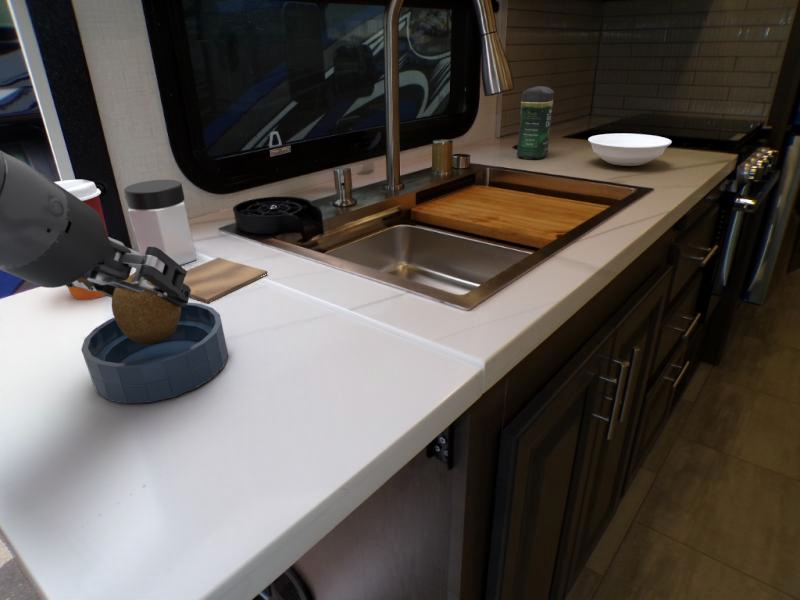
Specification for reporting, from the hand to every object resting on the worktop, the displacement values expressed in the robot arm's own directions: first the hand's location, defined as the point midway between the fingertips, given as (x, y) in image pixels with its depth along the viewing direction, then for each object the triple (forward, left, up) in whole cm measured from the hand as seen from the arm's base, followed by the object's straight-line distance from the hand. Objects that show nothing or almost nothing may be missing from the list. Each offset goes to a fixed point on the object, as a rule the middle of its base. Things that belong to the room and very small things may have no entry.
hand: (156, 295), depth 54 cm
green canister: (-3, +120, -8) cm, 121 cm away
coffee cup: (-25, +5, -8) cm, 27 cm away
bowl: (+22, +120, -8) cm, 123 cm away
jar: (-26, +18, -8) cm, 33 cm away
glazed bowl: (+1, -2, -8) cm, 8 cm away
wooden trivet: (-13, +16, -8) cm, 23 cm away
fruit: (+1, -2, -5) cm, 5 cm away
